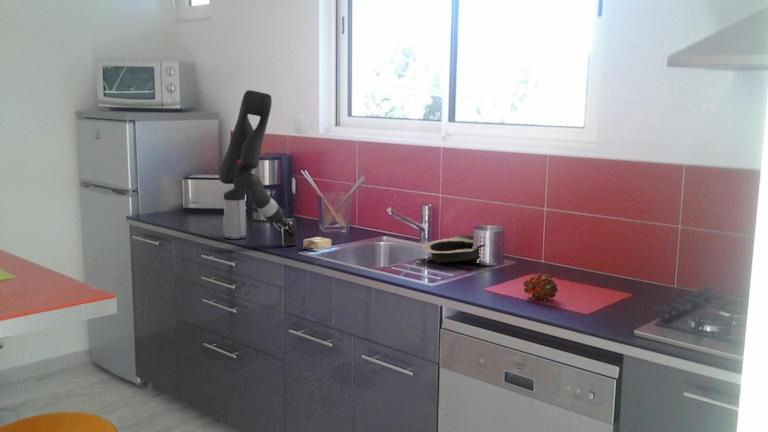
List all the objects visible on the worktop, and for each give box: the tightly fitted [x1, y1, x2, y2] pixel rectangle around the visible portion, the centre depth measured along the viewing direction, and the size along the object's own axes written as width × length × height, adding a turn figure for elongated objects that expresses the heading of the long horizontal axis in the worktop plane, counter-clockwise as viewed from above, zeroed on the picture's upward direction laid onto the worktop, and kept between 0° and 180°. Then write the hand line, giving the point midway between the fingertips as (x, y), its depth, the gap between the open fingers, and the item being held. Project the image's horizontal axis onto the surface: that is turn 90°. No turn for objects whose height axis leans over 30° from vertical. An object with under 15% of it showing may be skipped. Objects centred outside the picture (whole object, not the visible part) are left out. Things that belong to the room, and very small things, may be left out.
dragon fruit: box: [523, 273, 559, 302], centre depth 220 cm, size 8×8×12 cm
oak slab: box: [302, 236, 332, 249], centre depth 293 cm, size 8×8×4 cm
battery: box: [278, 218, 297, 245], centre depth 298 cm, size 7×4×11 cm, turn 137°
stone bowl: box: [421, 234, 486, 265], centre depth 271 cm, size 25×25×9 cm
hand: (291, 234), depth 300 cm, fingers closed on battery, 4 cm apart
